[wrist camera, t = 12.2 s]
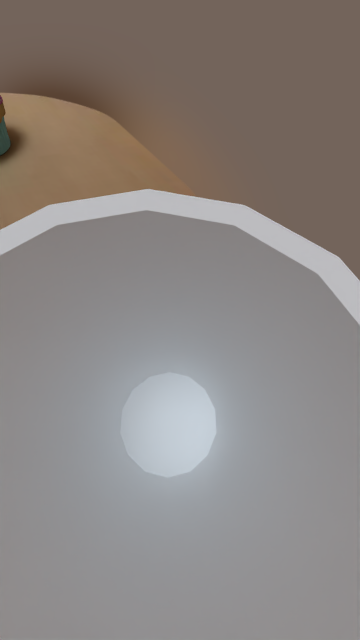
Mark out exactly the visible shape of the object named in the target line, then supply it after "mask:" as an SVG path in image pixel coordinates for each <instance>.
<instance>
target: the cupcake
mask: <svg viewBox="0 0 360 640" xmlns="http://www.w3.org/2000/svg"><path fill="white" fill-rule="evenodd" d="M4 115H5V109H4V105H3V100H2V97H1V96H0V155H2V154H4V153H5V152H6V151H7V150H8V149H9V147H10V139H9V136H8V133H7V129H6V125H5V121H4Z"/></svg>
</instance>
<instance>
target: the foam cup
mask: <svg viewBox="0 0 360 640" xmlns="http://www.w3.org/2000/svg"><path fill="white" fill-rule="evenodd" d="M0 640H360V281H359V280H358V279H357V278H356V276H355V275H354V274H353V273H352V272H351V271H350V269H349V268H348V267H347V266H346V265H345V264H344V263H343V261H342V260H341V259H340V258H339V257H338V256H336V255H334V254H332V253H330V252H328V251H327V250H325V249H323V248H321V247H319V246H317V245H316V244H314V243H312V242H310V241H309V240H307V239H305V238H303V237H301V236H300V235H298V234H296V233H294V232H292V231H290V230H289V229H287V228H285V227H283V226H281V225H280V224H278V223H276V222H274V221H272V220H270V219H269V218H267V217H265V216H263V215H262V214H260V213H258V212H256V211H254V210H253V209H251V208H249V207H247V206H245V205H240V204H234V203H228V202H222V201H217V200H210V199H204V198H199V197H193V196H187V195H181V194H175V193H169V192H163V191H157V190H151V189H145V190H139V191H133V192H127V193H120V194H114V195H108V196H102V197H96V198H89V199H83V200H77V201H71V202H65V203H58V204H52V205H48V206H46V207H44V208H42V209H40V210H38V211H37V212H35V213H33V214H31V215H29V216H27V217H25V218H23V219H21V220H19V221H17V222H15V223H13V224H11V225H9V226H7V227H5V228H3V229H1V230H0Z"/></svg>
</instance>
